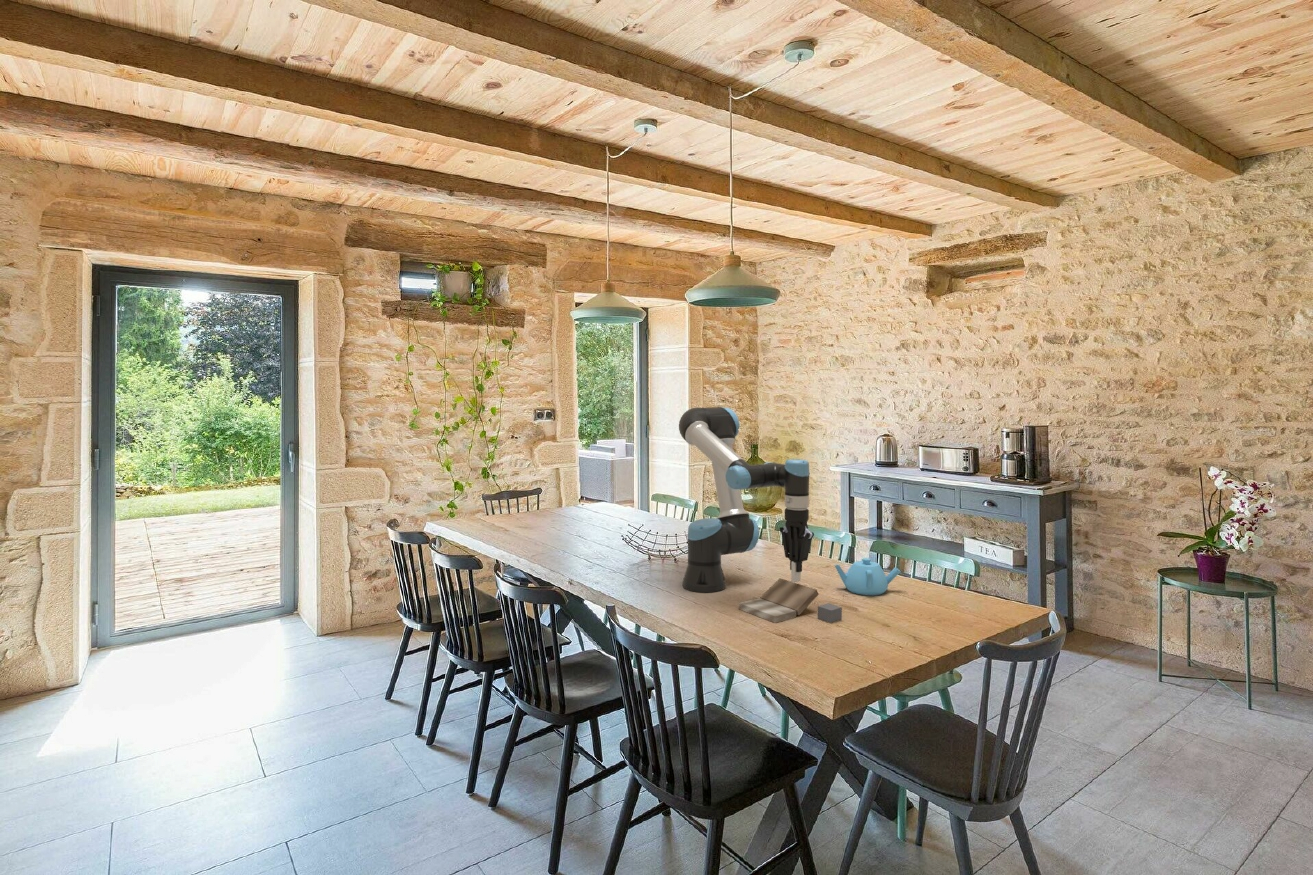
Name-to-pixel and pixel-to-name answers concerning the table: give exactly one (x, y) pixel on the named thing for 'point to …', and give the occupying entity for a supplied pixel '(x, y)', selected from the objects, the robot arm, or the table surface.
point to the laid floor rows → (767, 610)
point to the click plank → (790, 595)
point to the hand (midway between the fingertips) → (795, 581)
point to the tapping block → (829, 613)
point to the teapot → (866, 577)
